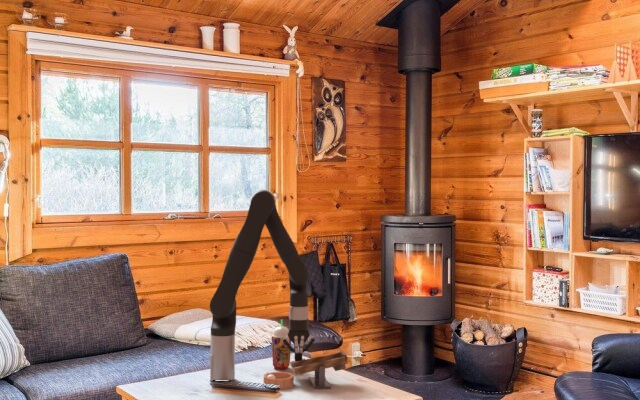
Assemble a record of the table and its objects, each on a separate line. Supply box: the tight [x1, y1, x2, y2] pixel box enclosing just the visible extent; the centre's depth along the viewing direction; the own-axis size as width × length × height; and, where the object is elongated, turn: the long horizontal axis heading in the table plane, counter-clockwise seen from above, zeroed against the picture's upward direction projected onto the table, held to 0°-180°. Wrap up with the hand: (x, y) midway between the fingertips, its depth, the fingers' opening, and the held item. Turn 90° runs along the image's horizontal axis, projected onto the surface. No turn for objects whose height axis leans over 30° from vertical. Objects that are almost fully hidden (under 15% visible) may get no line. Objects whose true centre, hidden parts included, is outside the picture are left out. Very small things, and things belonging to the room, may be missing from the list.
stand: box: [308, 366, 331, 390], centre depth 271 cm, size 6×14×8 cm, turn 9°
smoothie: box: [270, 319, 292, 371], centre depth 294 cm, size 8×8×20 cm
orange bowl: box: [262, 371, 295, 390], centre depth 268 cm, size 11×11×4 cm
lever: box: [290, 349, 349, 376], centre depth 275 cm, size 20×17×5 cm
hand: (298, 362), depth 278 cm, fingers closed
